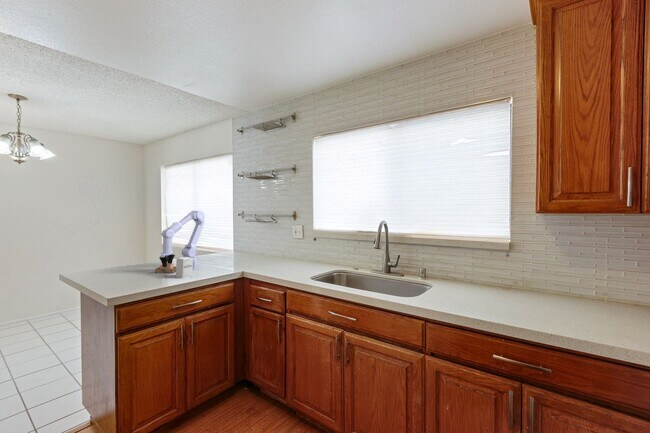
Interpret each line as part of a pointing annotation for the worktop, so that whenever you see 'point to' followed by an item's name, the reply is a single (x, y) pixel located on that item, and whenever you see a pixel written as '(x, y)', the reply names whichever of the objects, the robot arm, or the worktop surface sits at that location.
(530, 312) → the worktop surface
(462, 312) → the worktop surface
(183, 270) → the supplement box
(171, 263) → the robot arm
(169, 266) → the terracotta crate
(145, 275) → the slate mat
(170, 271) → the walnut crate
